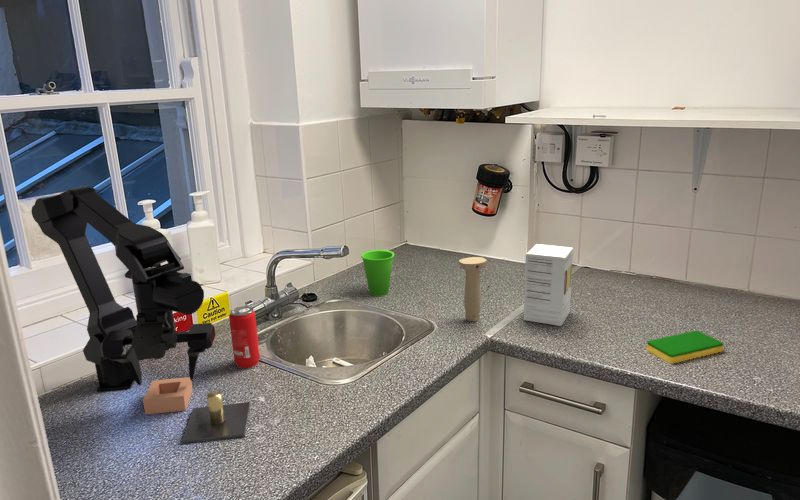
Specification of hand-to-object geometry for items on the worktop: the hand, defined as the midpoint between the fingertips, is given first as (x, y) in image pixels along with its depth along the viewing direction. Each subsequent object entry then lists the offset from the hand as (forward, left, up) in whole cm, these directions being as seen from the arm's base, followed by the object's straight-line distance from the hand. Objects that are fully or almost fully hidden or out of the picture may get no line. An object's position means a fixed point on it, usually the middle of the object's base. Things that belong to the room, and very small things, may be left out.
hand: (166, 381), depth 110 cm
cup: (+45, +48, -4) cm, 66 cm away
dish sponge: (+104, 0, -5) cm, 104 cm away
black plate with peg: (+10, -9, -4) cm, 14 cm away
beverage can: (+13, +13, -4) cm, 19 cm away
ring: (0, 0, -4) cm, 4 cm away
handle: (+65, +25, -4) cm, 70 cm away
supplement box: (+83, +23, -4) cm, 86 cm away
